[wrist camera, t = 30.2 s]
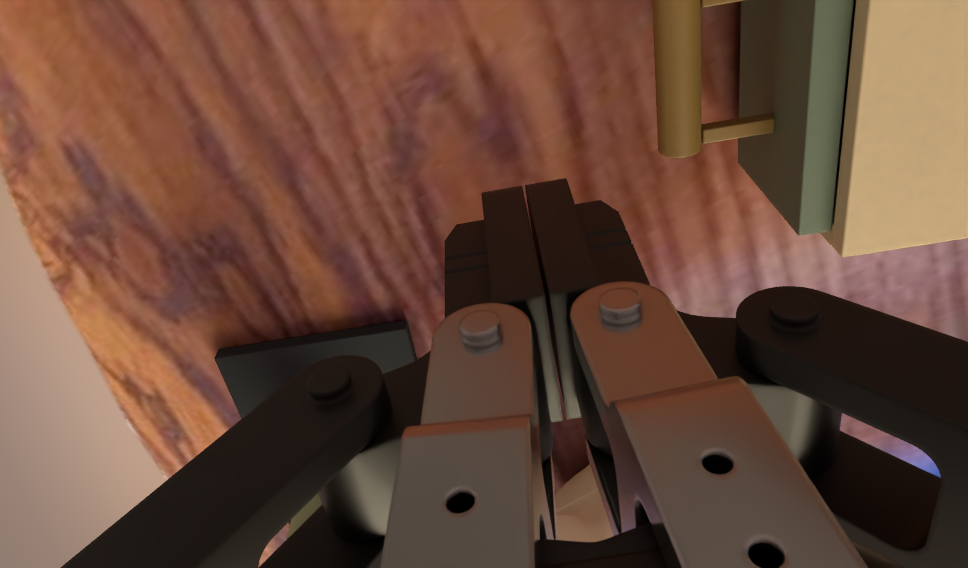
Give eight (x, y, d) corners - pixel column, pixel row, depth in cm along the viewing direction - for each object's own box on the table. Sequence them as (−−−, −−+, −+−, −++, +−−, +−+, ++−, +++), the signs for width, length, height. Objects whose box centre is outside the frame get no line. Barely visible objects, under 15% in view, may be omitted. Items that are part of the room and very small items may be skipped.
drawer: (640, 178, 33) (680, 255, 27) (624, -111, 27) (672, -91, 21) (1076, 107, 32) (1214, 171, 26) (1161, -210, 26) (1365, -218, 20)
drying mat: (218, 348, 39) (213, 358, 38) (406, 319, 38) (405, 328, 37) (306, 548, 47) (304, 558, 46) (462, 526, 46) (462, 537, 46)
